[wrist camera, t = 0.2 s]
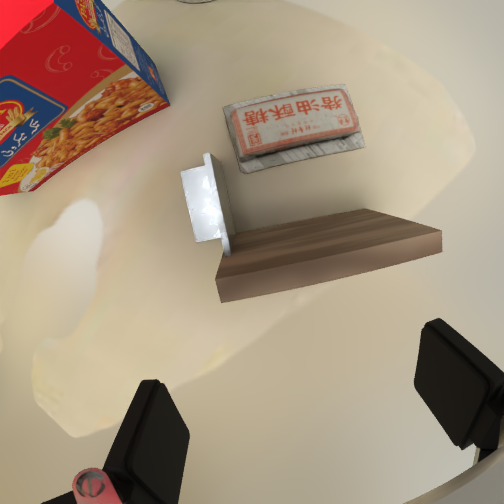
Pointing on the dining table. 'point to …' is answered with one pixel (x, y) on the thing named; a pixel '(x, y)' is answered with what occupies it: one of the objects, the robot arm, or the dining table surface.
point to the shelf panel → (320, 252)
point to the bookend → (209, 203)
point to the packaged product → (293, 127)
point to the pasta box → (66, 86)
